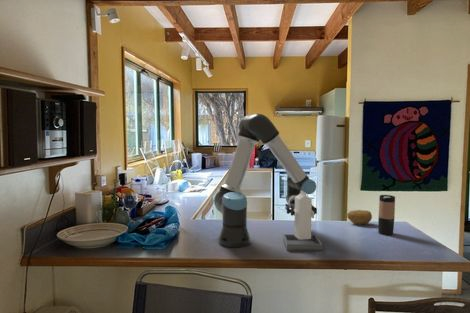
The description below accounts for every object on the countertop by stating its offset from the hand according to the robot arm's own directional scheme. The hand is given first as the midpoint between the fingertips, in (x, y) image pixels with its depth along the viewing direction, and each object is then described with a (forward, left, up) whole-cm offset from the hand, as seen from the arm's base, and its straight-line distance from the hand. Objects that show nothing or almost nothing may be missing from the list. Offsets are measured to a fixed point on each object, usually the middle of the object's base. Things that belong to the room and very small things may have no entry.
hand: (304, 215), depth 146 cm
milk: (0, +5, -12) cm, 13 cm away
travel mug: (+48, +25, -16) cm, 56 cm away
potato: (+40, +42, -16) cm, 60 cm away
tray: (0, +5, -16) cm, 17 cm away
